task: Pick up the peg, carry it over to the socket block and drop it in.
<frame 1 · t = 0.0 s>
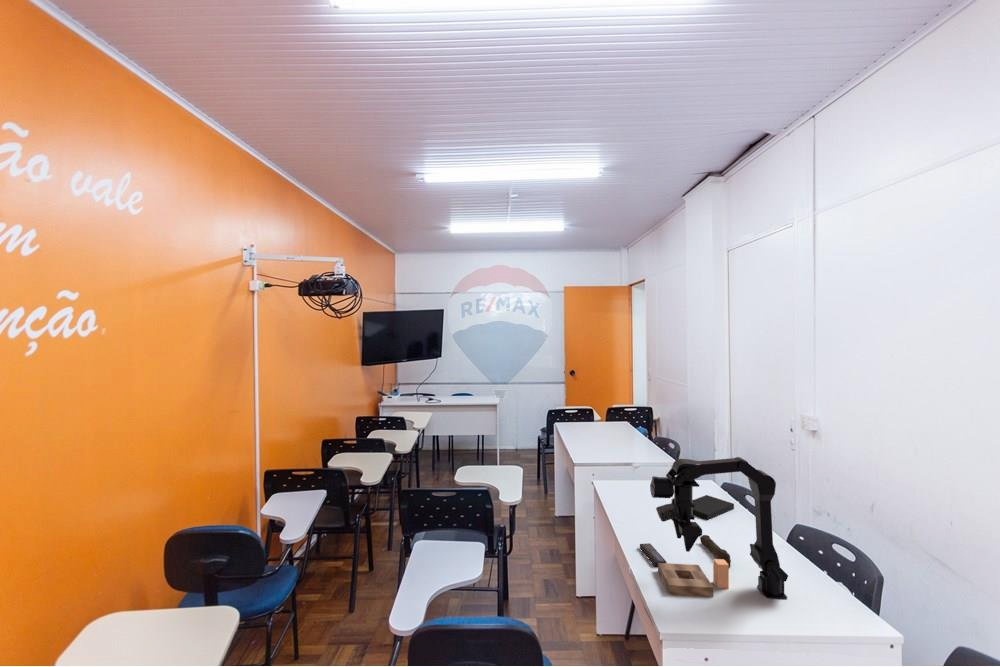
hand: (683, 544, 148), 15 cm above the table, tool pointing down, fingers open, 9 cm apart
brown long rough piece: (717, 556, 170), on the table
external hard drive: (706, 510, 214), on the table
socket block: (684, 583, 151), on the table
multiport hub: (652, 558, 169), on the table
peg: (720, 585, 150), on the table
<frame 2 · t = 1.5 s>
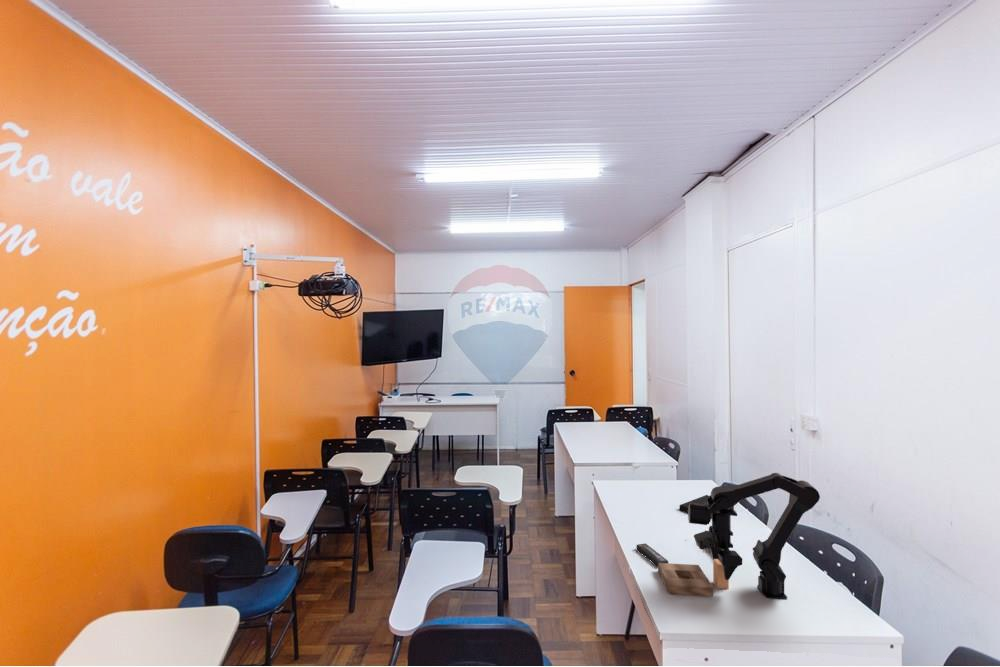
hand: (721, 572, 150), 5 cm above the table, tool pointing down, fingers open, 9 cm apart
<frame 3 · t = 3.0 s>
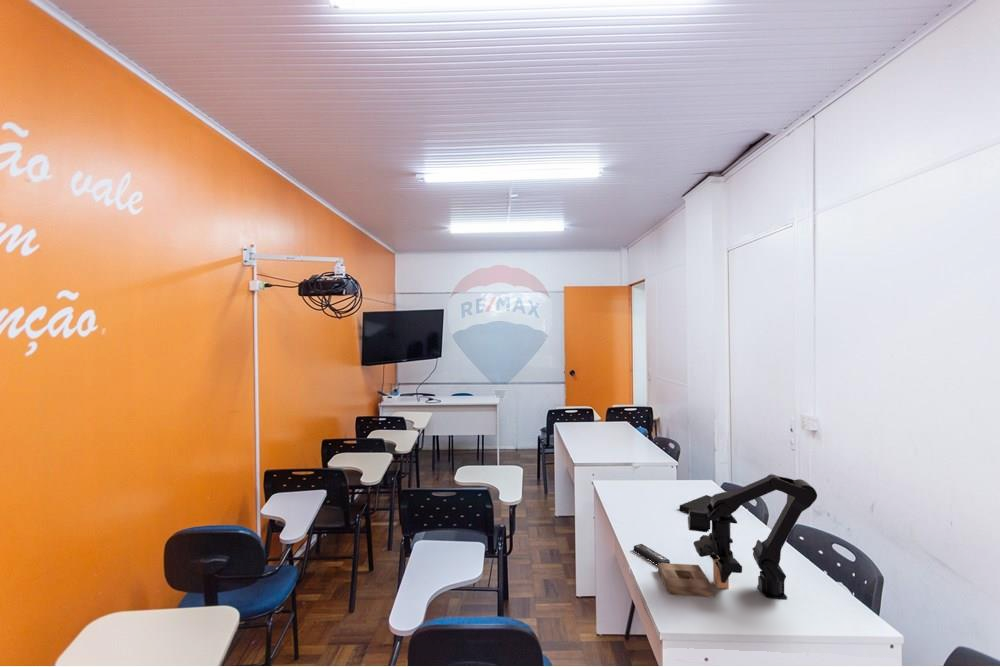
hand: (720, 579, 150), 2 cm above the table, tool pointing down, fingers closed on peg, 4 cm apart
peg: (720, 585, 150), on the table, touching gripper
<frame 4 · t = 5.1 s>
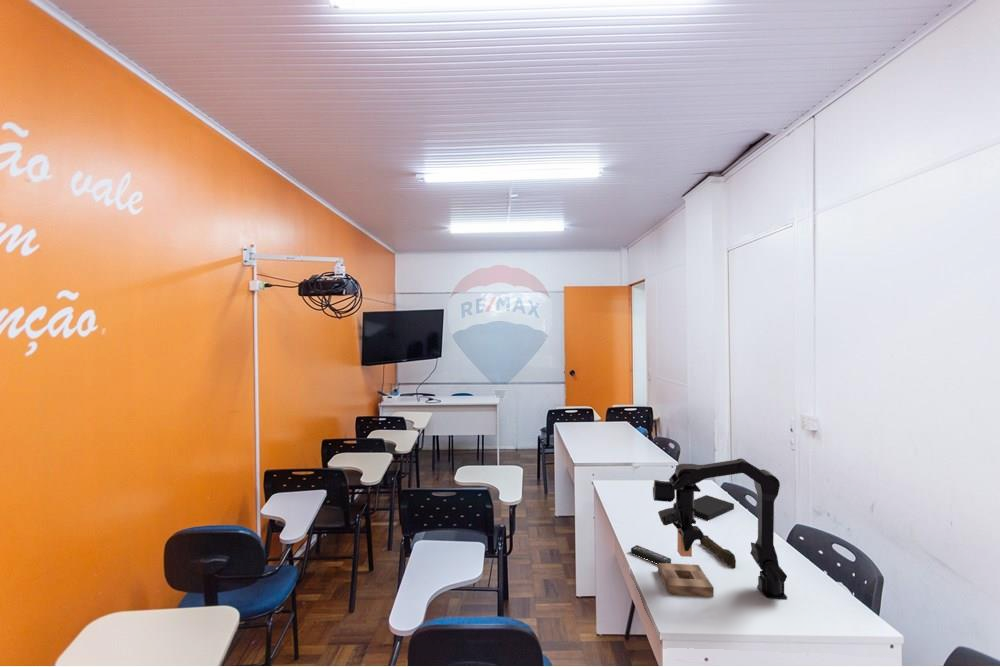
hand: (684, 548, 151), 12 cm above the table, tool pointing down, fingers closed on peg, 4 cm apart
peg: (684, 553, 151), point 10 cm above the table, touching gripper
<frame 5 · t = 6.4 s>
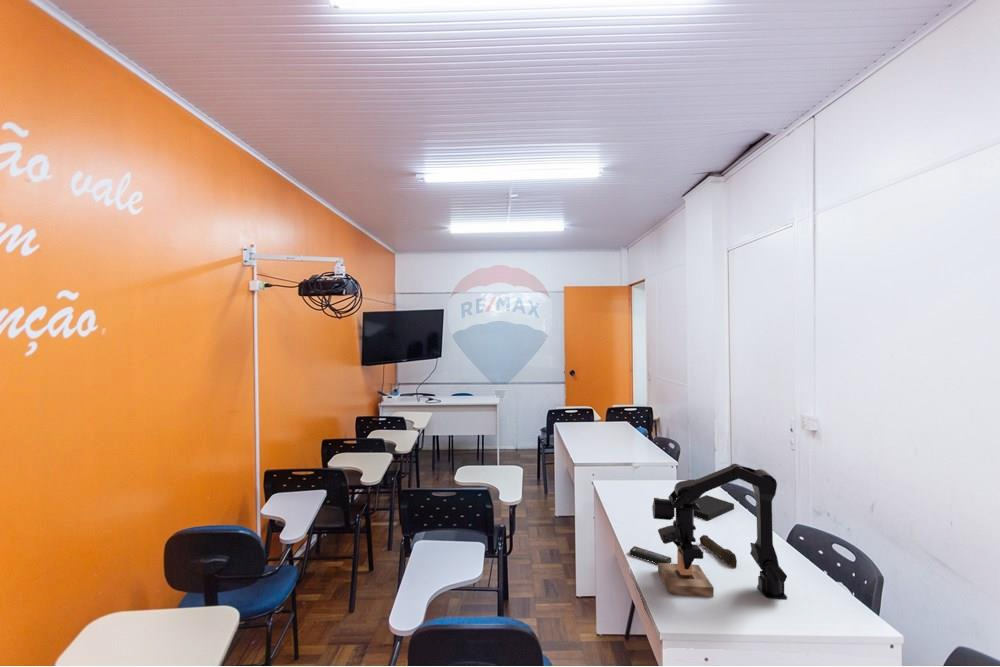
hand: (684, 566, 151), 6 cm above the table, tool pointing down, fingers closed on peg, 4 cm apart
peg: (684, 571, 151), point 4 cm above the table, touching gripper
when the fingers open (4 cm above the table, at t = 7.5 s): peg drops 3 cm, resting in socket block.
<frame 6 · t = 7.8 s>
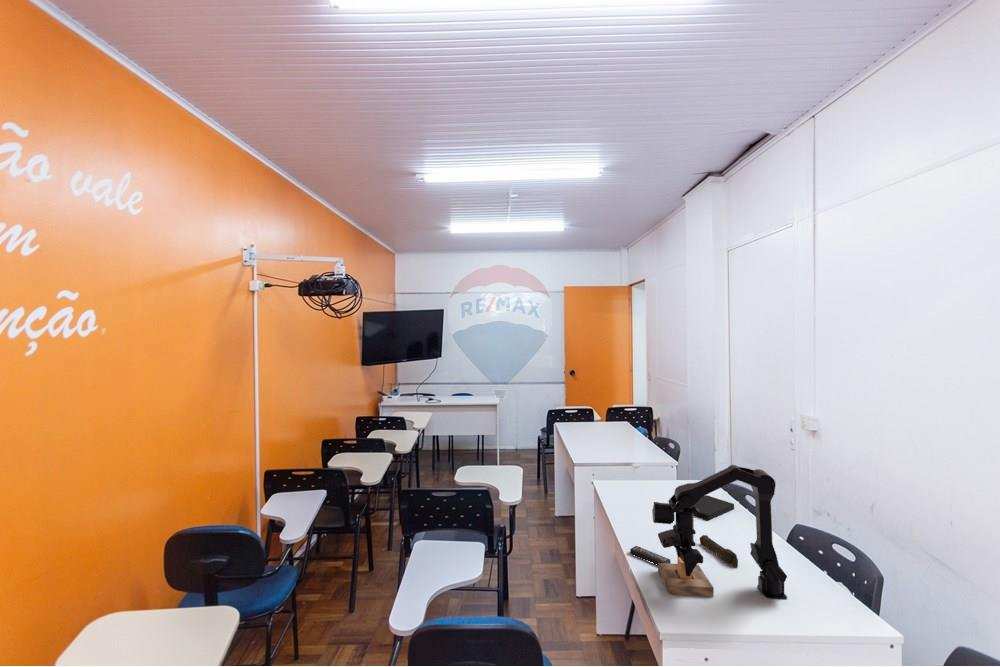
hand: (684, 570, 151), 4 cm above the table, tool pointing down, fingers open, 7 cm apart
peg: (684, 583, 151), resting in socket block
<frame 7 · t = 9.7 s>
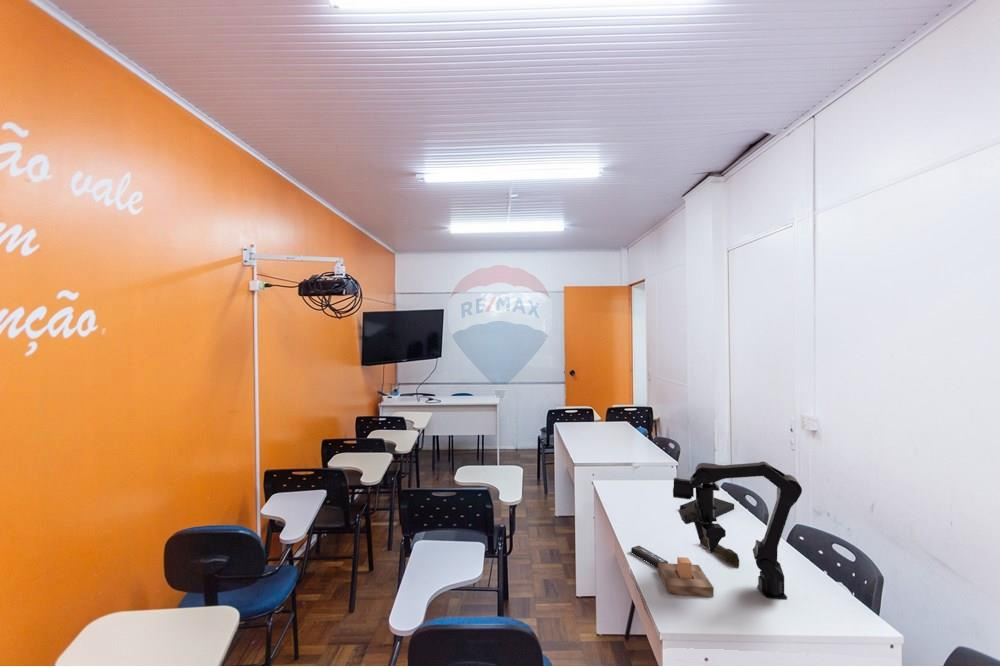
hand: (705, 545, 154), 12 cm above the table, tool pointing down, fingers open, 9 cm apart
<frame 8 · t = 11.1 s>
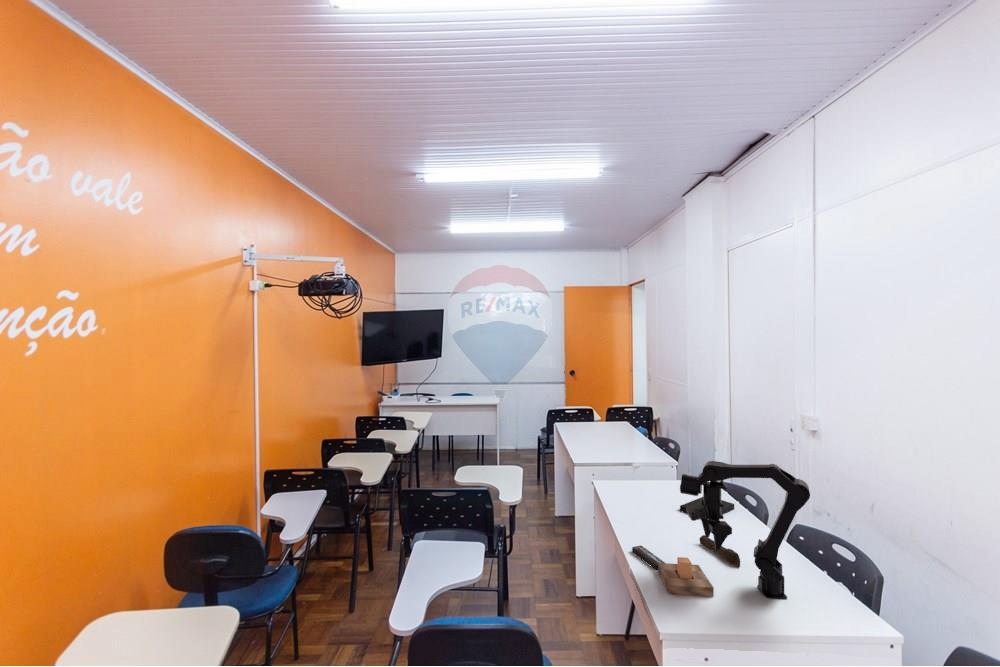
hand: (712, 542, 155), 12 cm above the table, tool pointing down, fingers open, 9 cm apart
at the end: peg 0.0 cm off-centre on the socket block, point 0.0 cm above the socket block's base; peg tilted 0°; the gripper is holding nothing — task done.
